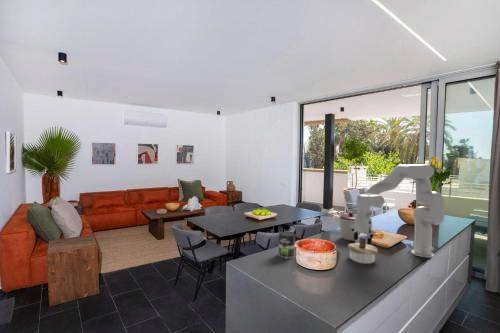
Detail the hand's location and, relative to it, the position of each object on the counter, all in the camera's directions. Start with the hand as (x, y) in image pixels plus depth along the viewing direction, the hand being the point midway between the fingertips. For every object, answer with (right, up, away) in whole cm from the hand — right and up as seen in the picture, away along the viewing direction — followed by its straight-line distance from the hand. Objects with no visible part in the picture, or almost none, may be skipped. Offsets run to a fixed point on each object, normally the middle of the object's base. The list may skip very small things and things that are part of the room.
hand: (362, 241), depth 163 cm
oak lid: (0, -5, 0) cm, 5 cm away
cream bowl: (0, -11, 0) cm, 11 cm away
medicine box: (+9, -10, +21) cm, 25 cm away
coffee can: (-46, -10, +5) cm, 48 cm away
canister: (+8, -10, +41) cm, 43 cm away
